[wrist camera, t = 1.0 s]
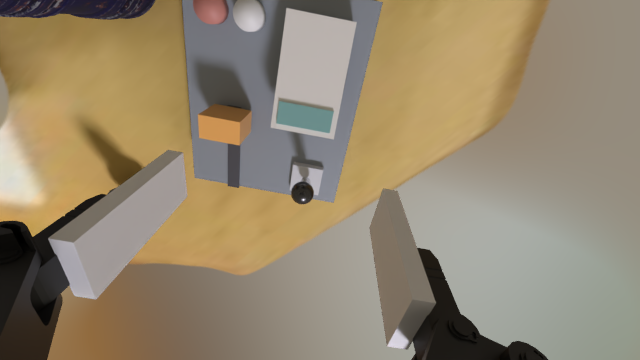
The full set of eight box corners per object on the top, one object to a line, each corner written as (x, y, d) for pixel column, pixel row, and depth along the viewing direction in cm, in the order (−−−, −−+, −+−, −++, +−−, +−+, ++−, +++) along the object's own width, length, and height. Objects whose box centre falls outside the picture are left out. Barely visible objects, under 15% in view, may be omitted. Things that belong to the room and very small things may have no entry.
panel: (199, -32, 27) (169, -44, 22) (377, 5, 27) (385, 0, 23) (208, 164, 38) (189, 185, 33) (333, 187, 38) (333, 210, 34)
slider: (214, 103, 29) (197, 114, 25) (251, 110, 29) (240, 122, 26) (215, 125, 30) (199, 138, 27) (250, 131, 30) (239, 145, 27)
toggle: (298, 170, 32) (292, 181, 25) (316, 173, 32) (315, 186, 25) (295, 188, 32) (288, 204, 25) (313, 191, 32) (311, 208, 25)
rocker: (289, 15, 24) (286, 7, 22) (354, 28, 25) (357, 21, 23) (274, 126, 27) (270, 127, 25) (333, 137, 27) (333, 139, 25)
